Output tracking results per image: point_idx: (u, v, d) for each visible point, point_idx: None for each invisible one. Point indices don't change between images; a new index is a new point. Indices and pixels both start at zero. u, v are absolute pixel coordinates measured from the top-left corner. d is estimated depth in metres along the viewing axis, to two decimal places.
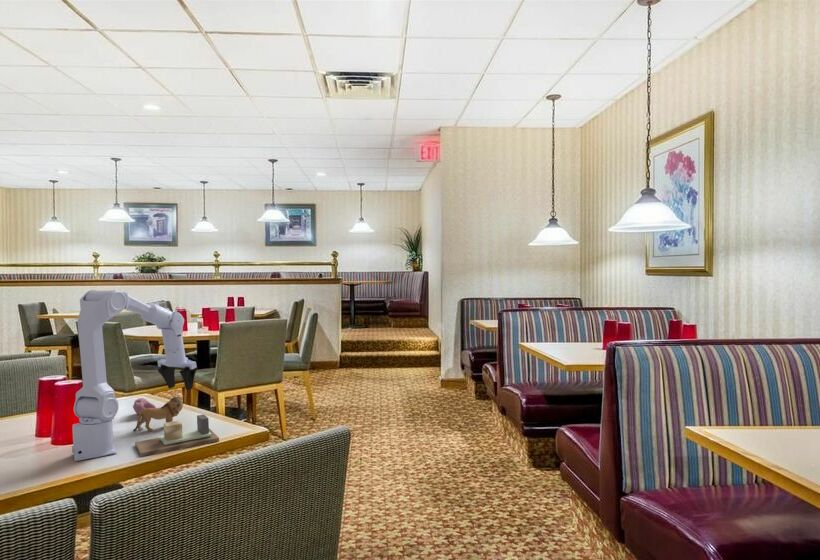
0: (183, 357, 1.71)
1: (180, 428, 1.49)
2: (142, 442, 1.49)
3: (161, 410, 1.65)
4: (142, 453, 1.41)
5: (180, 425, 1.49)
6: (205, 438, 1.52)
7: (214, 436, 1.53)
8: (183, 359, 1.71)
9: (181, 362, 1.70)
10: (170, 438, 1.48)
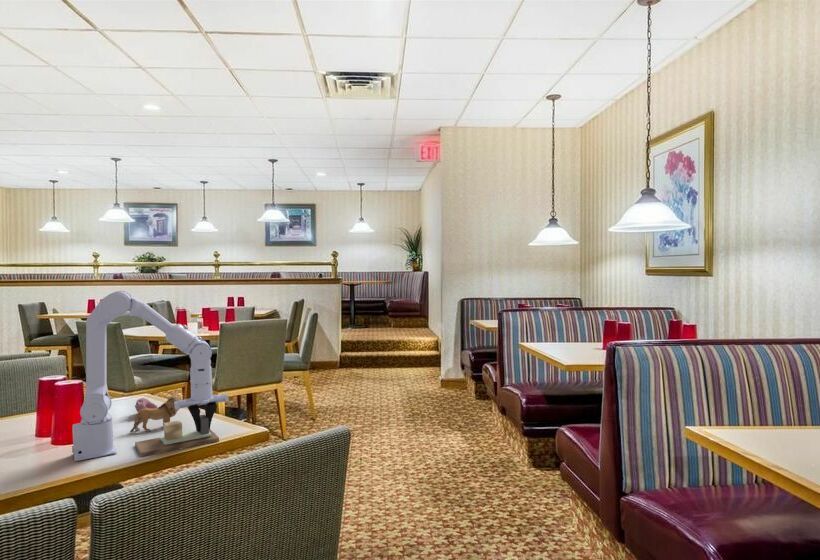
0: (192, 395, 1.52)
1: (180, 428, 1.49)
2: (142, 442, 1.49)
3: (159, 410, 1.65)
4: (142, 453, 1.41)
5: (180, 425, 1.49)
6: (205, 438, 1.52)
7: (214, 436, 1.53)
8: (191, 397, 1.52)
9: (190, 399, 1.53)
10: (170, 438, 1.48)
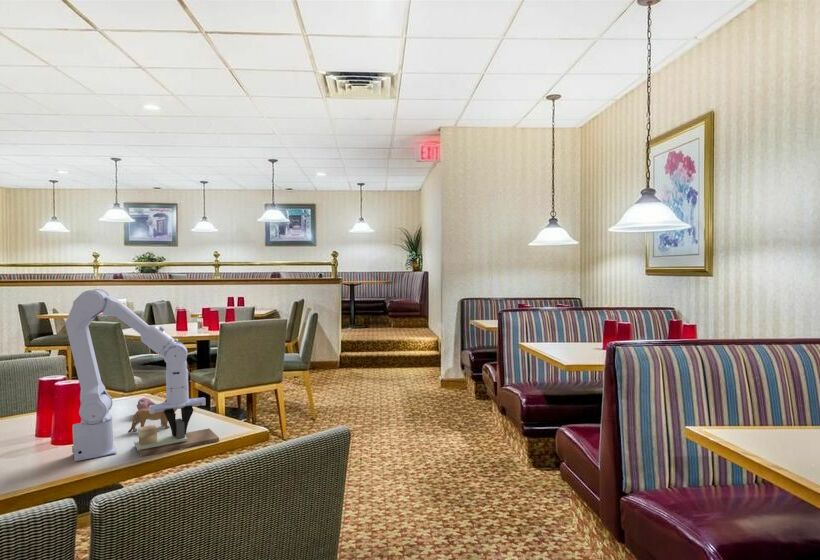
0: (167, 399, 1.49)
1: (155, 433, 1.46)
2: None
3: None
4: (142, 453, 1.41)
5: (155, 430, 1.46)
6: (205, 438, 1.52)
7: (214, 436, 1.53)
8: (167, 401, 1.49)
9: (166, 403, 1.50)
10: (144, 443, 1.44)
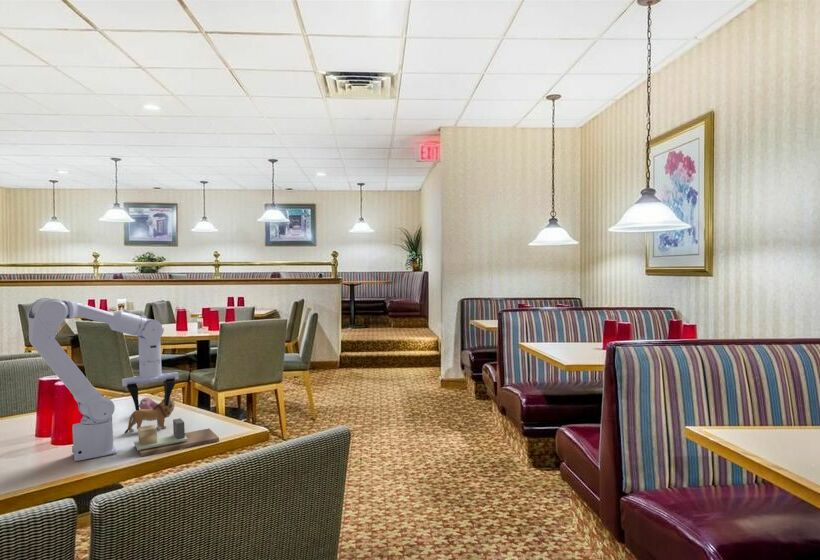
0: (140, 372, 1.52)
1: (155, 433, 1.46)
2: None
3: (153, 411, 1.64)
4: (142, 453, 1.41)
5: (155, 430, 1.46)
6: (205, 438, 1.52)
7: (214, 436, 1.53)
8: (140, 375, 1.52)
9: (139, 376, 1.53)
10: (144, 443, 1.44)
